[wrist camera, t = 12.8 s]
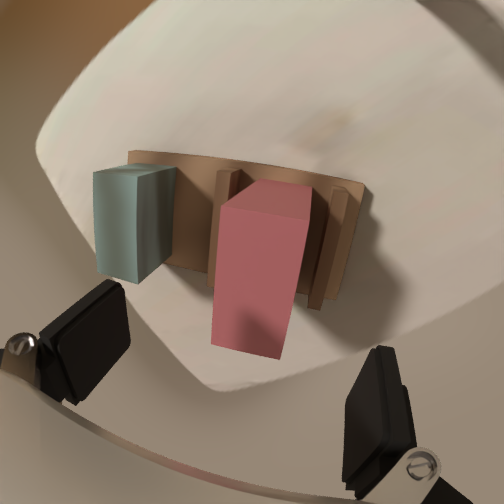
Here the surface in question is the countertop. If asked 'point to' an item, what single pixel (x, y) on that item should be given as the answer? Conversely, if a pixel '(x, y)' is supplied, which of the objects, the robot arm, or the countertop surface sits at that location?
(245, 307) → the dusty red block
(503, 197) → the countertop surface
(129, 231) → the rack
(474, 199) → the countertop surface
